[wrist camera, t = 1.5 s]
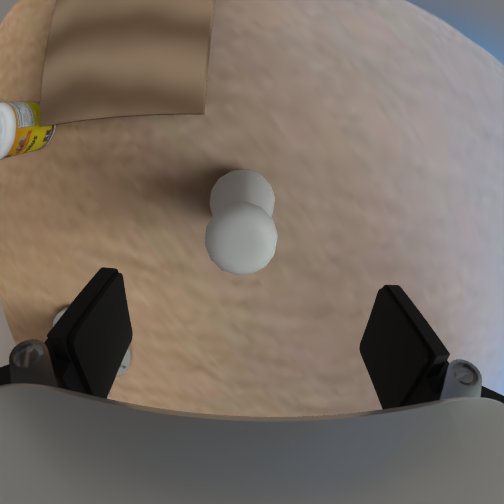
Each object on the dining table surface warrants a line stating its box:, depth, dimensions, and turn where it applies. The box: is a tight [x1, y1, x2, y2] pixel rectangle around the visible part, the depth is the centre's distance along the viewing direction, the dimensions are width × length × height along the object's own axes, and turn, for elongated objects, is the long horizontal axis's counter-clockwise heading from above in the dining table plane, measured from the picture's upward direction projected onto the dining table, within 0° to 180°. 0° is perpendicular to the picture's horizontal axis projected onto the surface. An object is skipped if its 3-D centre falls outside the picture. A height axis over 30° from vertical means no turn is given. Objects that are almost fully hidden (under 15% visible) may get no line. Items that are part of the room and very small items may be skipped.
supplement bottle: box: [0, 102, 56, 159], centre depth 19 cm, size 6×6×10 cm
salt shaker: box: [205, 169, 278, 275], centre depth 23 cm, size 6×6×13 cm
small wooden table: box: [39, 0, 216, 127], centre depth 19 cm, size 15×15×6 cm
